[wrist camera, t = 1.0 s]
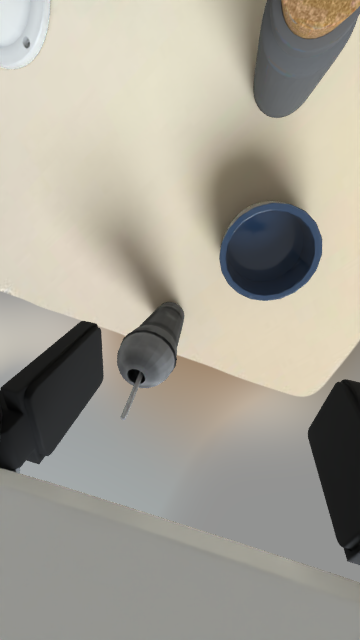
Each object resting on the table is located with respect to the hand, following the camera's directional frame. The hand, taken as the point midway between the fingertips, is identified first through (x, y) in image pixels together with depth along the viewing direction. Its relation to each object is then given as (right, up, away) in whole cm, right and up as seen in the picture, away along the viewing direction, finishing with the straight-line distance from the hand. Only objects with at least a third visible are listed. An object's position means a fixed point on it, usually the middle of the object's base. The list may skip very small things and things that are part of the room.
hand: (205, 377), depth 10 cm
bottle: (+9, +27, +15) cm, 32 cm away
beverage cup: (-2, +3, +30) cm, 30 cm away
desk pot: (+10, +12, +22) cm, 27 cm away
